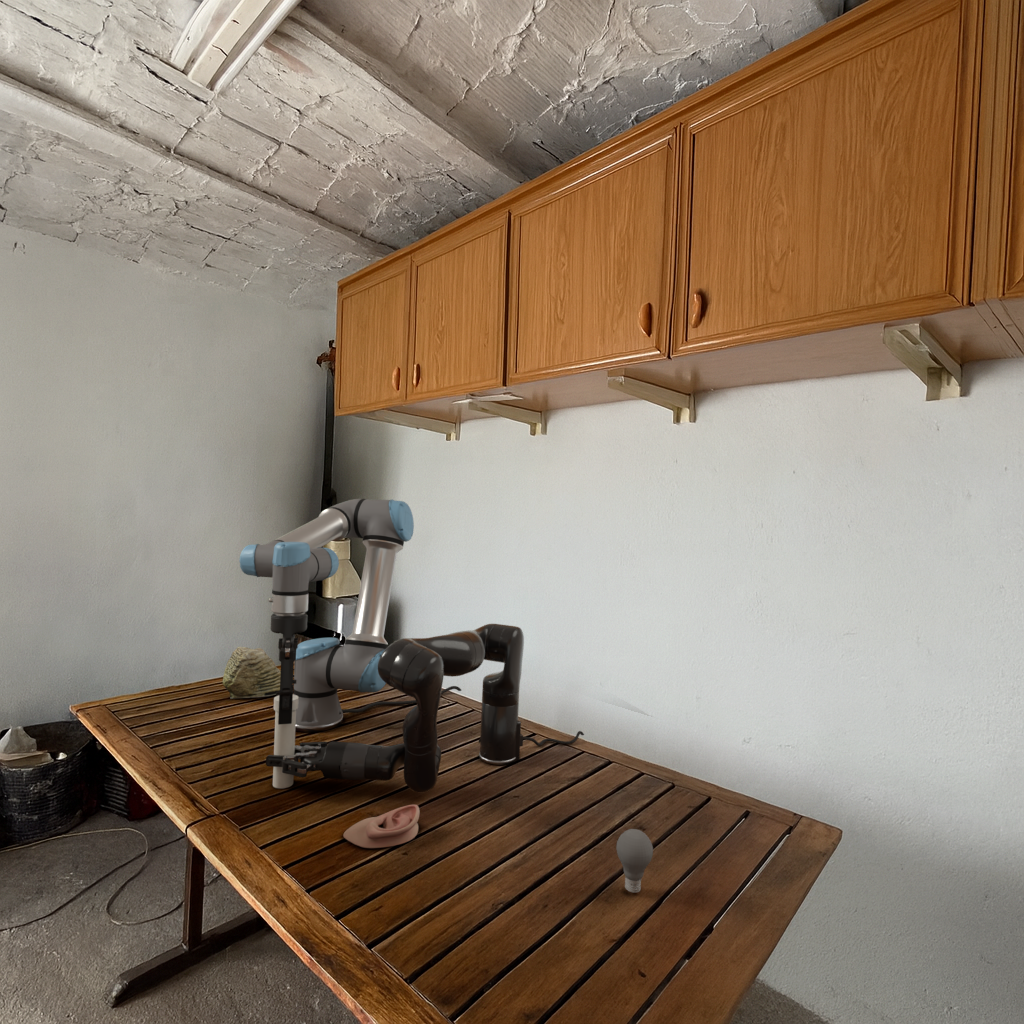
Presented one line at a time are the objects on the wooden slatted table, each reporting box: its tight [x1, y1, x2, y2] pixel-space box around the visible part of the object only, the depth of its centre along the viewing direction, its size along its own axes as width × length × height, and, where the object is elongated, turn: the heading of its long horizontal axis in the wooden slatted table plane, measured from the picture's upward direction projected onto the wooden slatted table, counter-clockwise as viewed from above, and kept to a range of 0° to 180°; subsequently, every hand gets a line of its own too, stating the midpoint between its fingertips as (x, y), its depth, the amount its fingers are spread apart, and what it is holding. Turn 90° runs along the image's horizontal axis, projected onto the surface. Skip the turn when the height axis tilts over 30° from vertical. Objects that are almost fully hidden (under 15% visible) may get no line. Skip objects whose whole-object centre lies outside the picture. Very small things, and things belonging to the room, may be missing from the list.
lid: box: [273, 694, 298, 712], centre depth 138 cm, size 5×5×2 cm
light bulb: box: [615, 828, 654, 894], centre depth 106 cm, size 6×6×10 cm
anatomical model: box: [342, 804, 421, 849], centre depth 120 cm, size 13×4×12 cm
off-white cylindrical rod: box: [272, 710, 296, 789], centre depth 139 cm, size 4×4×18 cm
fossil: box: [222, 646, 281, 699], centre depth 198 cm, size 9×18×15 cm, turn 132°
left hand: (285, 718), depth 139 cm, fingers closed on lid, 5 cm apart
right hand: (271, 755), depth 139 cm, fingers closed on off-white cylindrical rod, 4 cm apart
